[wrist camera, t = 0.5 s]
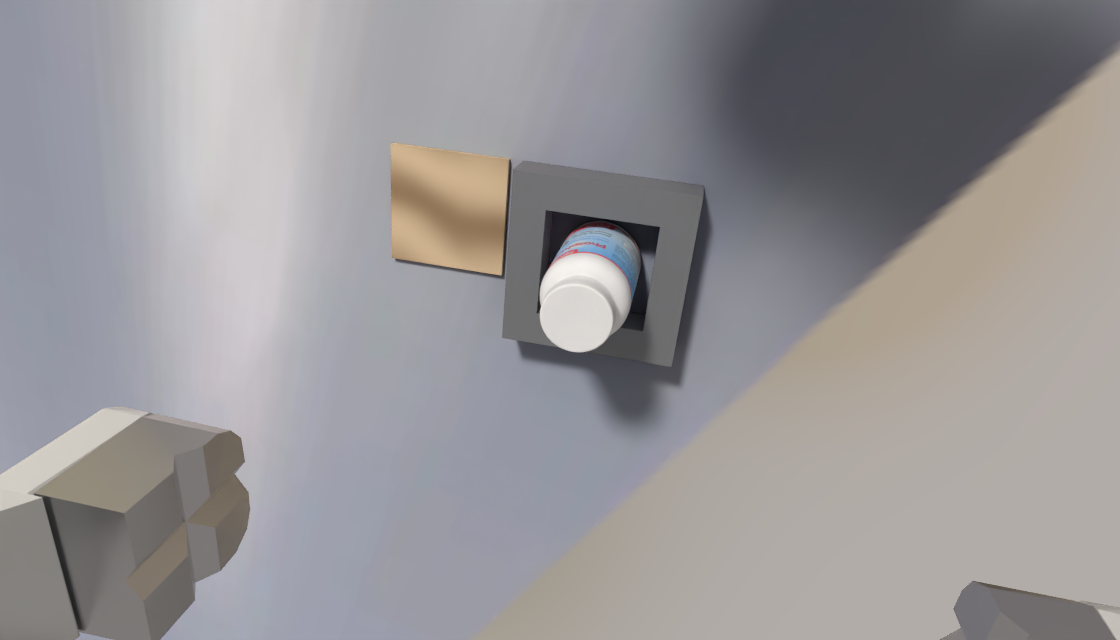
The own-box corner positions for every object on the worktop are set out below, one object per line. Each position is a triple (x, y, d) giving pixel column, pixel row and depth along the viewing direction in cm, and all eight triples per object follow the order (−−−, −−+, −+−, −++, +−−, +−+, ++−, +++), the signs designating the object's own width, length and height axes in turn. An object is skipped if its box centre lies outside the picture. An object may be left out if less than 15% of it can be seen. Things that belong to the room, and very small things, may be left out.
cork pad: (393, 142, 52) (390, 143, 51) (510, 159, 50) (508, 160, 50) (394, 256, 55) (392, 257, 55) (502, 273, 54) (501, 275, 54)
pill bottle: (608, 203, 50) (584, 252, 40) (658, 268, 52) (646, 331, 42) (545, 248, 53) (507, 306, 43) (593, 309, 54) (568, 379, 44)
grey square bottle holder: (523, 160, 50) (513, 169, 48) (703, 185, 48) (703, 196, 46) (512, 321, 56) (502, 337, 53) (673, 349, 54) (671, 367, 51)
